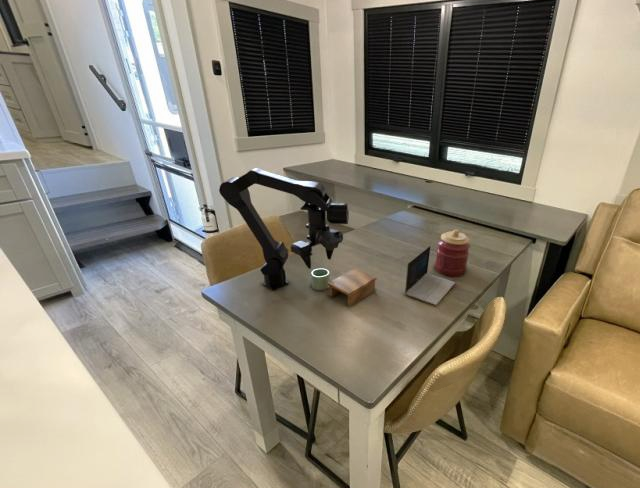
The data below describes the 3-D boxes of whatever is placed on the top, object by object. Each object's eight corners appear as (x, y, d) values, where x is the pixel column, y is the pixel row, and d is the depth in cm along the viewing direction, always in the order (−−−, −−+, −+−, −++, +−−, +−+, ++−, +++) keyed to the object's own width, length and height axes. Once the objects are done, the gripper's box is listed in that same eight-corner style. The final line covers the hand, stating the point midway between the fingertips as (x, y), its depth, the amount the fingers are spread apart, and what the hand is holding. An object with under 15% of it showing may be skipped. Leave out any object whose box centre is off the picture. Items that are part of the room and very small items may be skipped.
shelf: (349, 307, 110) (349, 293, 108) (328, 296, 115) (327, 282, 112) (376, 290, 120) (376, 277, 118) (355, 280, 125) (355, 267, 123)
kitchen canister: (471, 269, 139) (479, 231, 130) (453, 280, 130) (460, 239, 121) (446, 258, 146) (452, 221, 137) (428, 268, 137) (433, 228, 129)
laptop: (435, 306, 114) (440, 274, 107) (404, 294, 119) (407, 263, 113) (455, 284, 128) (460, 254, 121) (426, 274, 133) (429, 245, 126)
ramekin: (320, 292, 117) (319, 278, 114) (308, 285, 120) (307, 272, 117) (333, 285, 121) (332, 272, 119) (321, 279, 124) (320, 266, 122)
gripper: (311, 237, 98) (314, 282, 105) (354, 221, 111) (354, 261, 119) (287, 227, 103) (292, 270, 111) (331, 213, 117) (332, 252, 124)
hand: (319, 263), depth 116 cm, fingers open, 9 cm apart
